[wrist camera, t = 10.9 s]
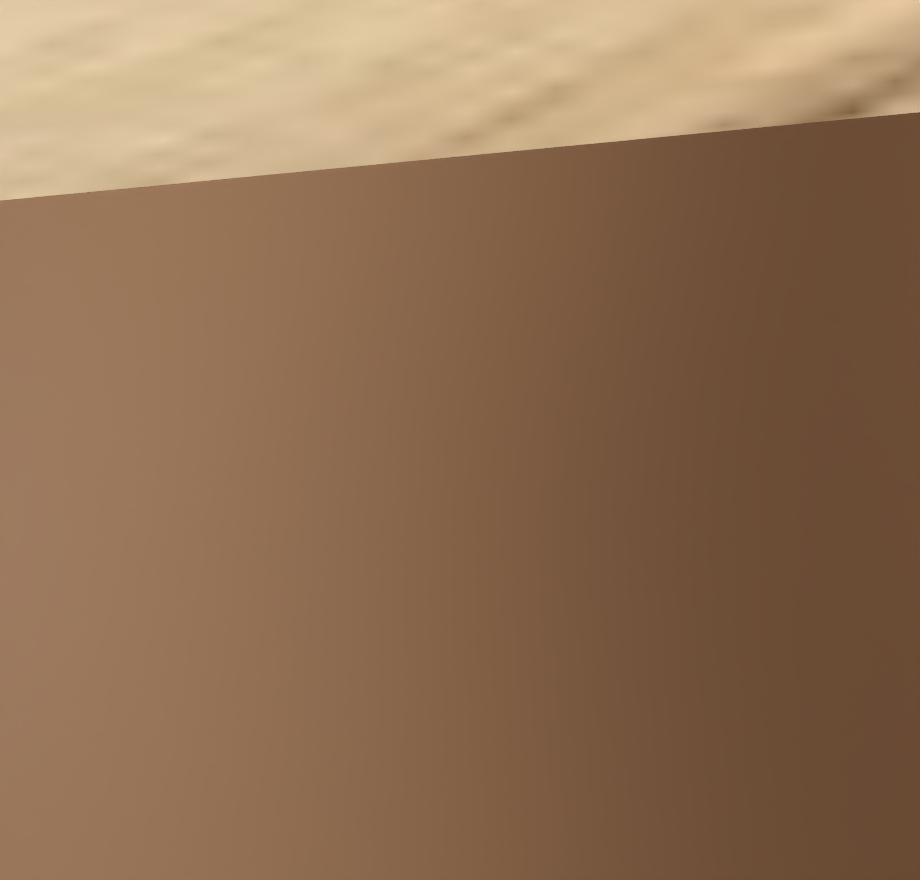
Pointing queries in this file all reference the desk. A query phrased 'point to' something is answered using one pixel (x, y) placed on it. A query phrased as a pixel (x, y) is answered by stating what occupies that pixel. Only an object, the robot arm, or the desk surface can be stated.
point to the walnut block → (469, 517)
